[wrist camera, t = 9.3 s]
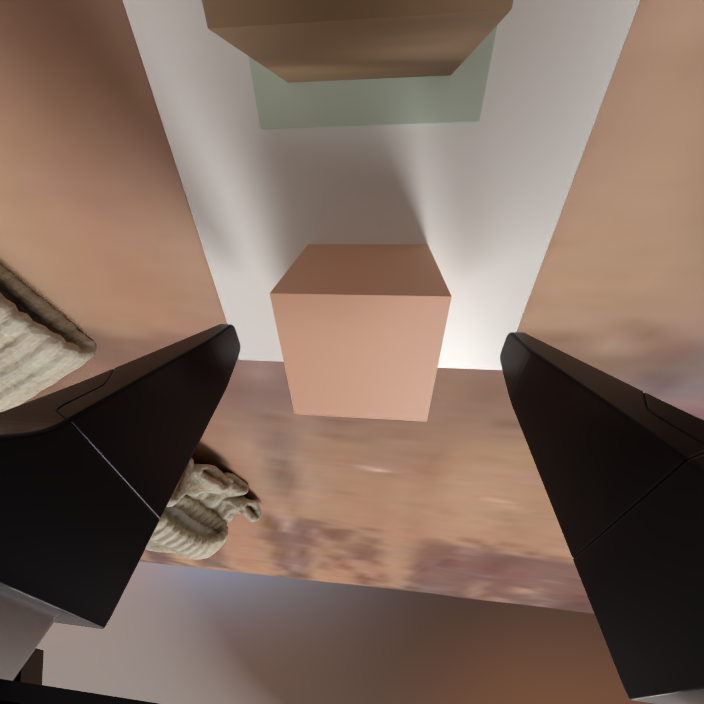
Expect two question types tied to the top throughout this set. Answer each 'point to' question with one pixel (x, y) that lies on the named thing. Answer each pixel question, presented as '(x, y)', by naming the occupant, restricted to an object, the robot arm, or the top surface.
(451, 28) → the walnut block
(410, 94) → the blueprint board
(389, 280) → the terracotta block
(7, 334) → the pair of gloves
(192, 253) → the top surface
